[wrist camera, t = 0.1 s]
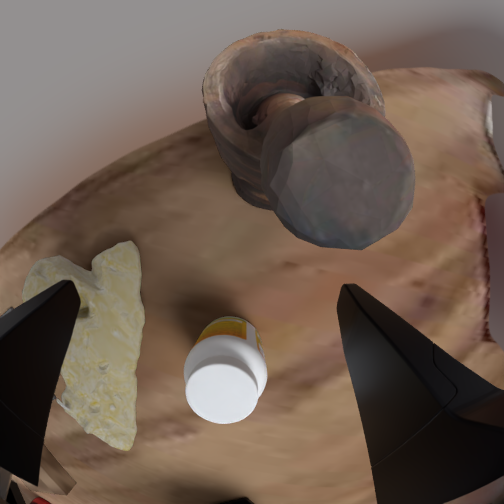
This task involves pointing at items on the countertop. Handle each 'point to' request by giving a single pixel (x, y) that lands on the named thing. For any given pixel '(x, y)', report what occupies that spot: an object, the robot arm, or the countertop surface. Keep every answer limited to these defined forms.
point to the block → (51, 476)
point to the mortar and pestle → (309, 137)
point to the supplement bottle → (225, 371)
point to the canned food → (39, 501)
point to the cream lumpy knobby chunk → (100, 340)
